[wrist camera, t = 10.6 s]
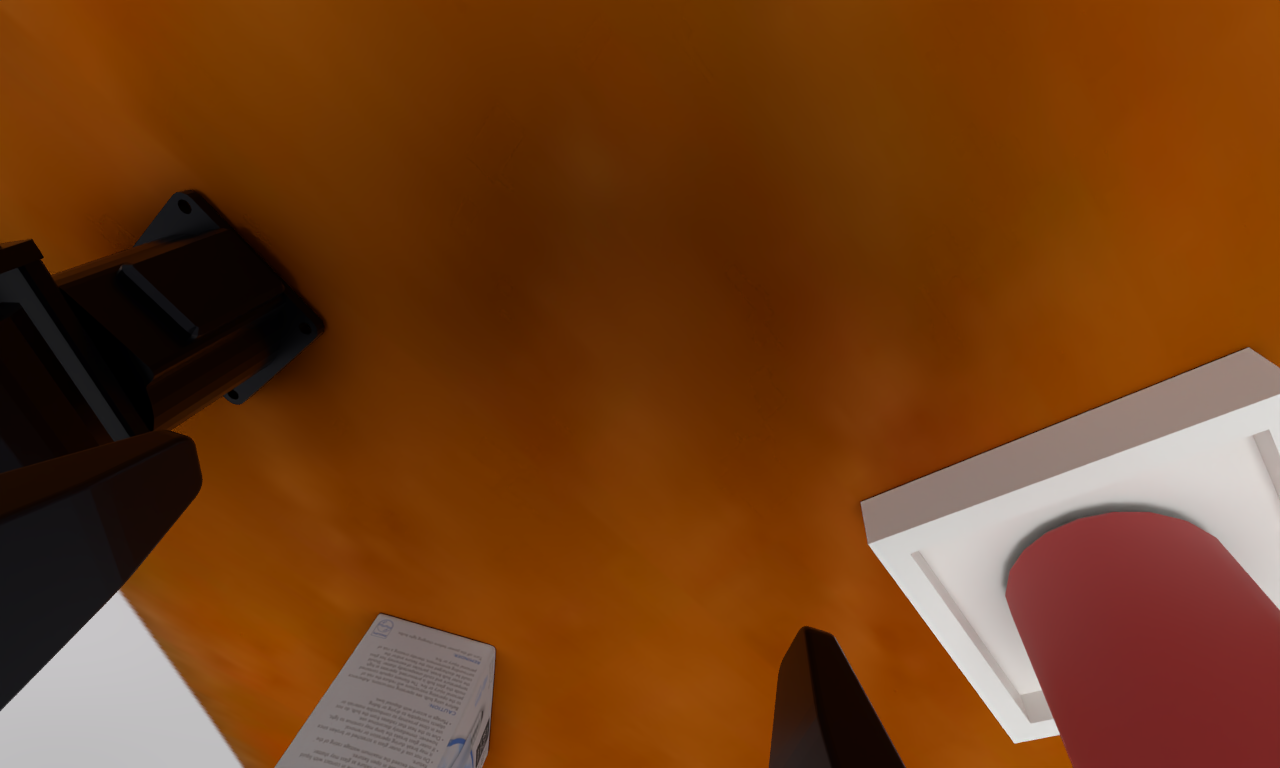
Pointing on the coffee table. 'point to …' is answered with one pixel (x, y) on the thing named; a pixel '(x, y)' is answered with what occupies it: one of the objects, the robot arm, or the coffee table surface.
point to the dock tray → (1083, 510)
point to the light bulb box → (402, 703)
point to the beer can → (1149, 644)
